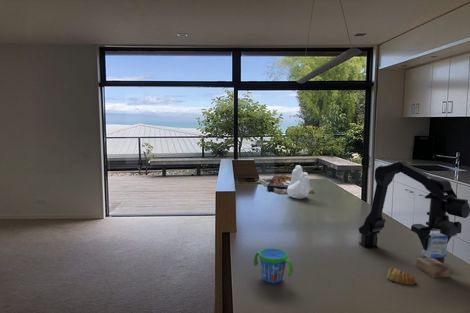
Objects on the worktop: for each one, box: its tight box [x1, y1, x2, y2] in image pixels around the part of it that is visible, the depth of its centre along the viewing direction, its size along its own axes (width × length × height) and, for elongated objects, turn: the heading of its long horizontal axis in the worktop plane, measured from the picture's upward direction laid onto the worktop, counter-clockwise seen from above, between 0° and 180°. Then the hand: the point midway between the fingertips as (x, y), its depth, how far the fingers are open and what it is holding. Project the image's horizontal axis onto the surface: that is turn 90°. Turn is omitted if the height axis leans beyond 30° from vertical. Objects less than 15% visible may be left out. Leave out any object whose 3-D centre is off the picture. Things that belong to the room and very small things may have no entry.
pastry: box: [386, 267, 416, 285], centre depth 130 cm, size 9×7×4 cm
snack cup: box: [253, 247, 294, 284], centre depth 127 cm, size 16×10×10 cm
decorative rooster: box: [287, 164, 311, 200], centre depth 260 cm, size 25×16×25 cm, turn 2°
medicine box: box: [421, 232, 448, 259], centre depth 137 cm, size 8×4×9 cm, turn 105°
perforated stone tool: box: [422, 255, 445, 264], centre depth 149 cm, size 15×5×7 cm, turn 172°
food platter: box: [266, 174, 292, 192], centre depth 305 cm, size 45×25×10 cm, turn 167°
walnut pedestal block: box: [415, 257, 452, 279], centre depth 138 cm, size 7×10×4 cm
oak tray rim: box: [258, 178, 315, 195], centre depth 305 cm, size 32×52×3 cm, turn 12°
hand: (434, 249), depth 137 cm, fingers closed on medicine box, 8 cm apart
